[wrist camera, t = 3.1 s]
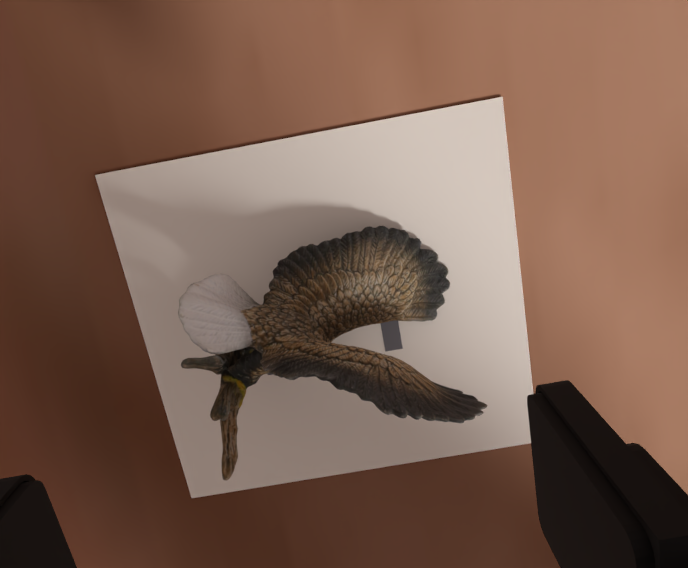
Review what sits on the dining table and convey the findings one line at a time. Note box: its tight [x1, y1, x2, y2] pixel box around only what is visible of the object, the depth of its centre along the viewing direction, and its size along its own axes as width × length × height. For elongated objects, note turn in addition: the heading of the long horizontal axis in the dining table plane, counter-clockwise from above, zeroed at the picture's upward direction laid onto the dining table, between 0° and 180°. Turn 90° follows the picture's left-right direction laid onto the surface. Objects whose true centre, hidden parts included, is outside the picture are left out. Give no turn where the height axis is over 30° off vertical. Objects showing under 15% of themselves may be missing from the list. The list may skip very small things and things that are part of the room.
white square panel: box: [95, 97, 533, 498], centre depth 22 cm, size 15×14×1 cm
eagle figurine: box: [178, 226, 487, 480], centre depth 19 cm, size 8×7×9 cm
